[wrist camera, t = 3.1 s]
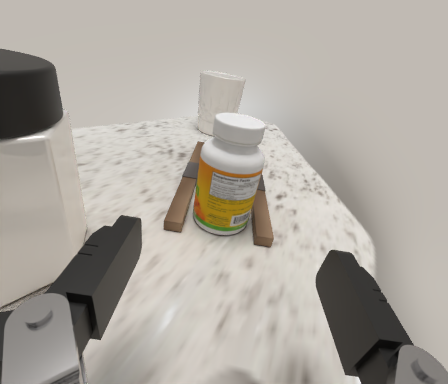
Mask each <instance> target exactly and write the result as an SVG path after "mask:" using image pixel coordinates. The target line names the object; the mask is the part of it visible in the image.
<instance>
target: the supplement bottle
mask: <svg viewBox="0 0 448 384" xmlns="http://www.w3.org/2000/svg"><path fill="white" fill-rule="evenodd" d="M264 130H265V124H264V123H263V122H262V121H260V120H259V119H256V118H254V117H251V116H247V115H243V114H237V113H219V114H217V115H216V116H215V119H214V125H213V132H212V133H213V135H214V136H215V138H212V139H209V140H208V141H206V142H205V143H204V145H203V146H202V149H201V154H200V162H199V170H198V177H197V185H196V193H195V201H194V209H193V216H194V219H195V221H196V223H197V224H198V225H199V226H200V227H201V228H203V229H204V230H206V231H208V232H211V233H214V234H218V235H231V234H235V233H238V232H240V231H241V230H243V229H244V228H245V226H246V225H247V222H248V219H249V216H250V212H251V209H252V205H253V202H254V198H255V195H256V191H257V188H258V184H259V181H260V177H261V174H262V170H263V166H264V161H265V157H264V154H263V152H262V150H261V149H260V148H259V147H258V146H257V145H259V144H260V143H261V141H262V139H263V135H264Z"/></svg>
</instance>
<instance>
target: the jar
mask: <svg viewBox="0 0 448 384" xmlns="http://www.w3.org/2000/svg"><path fill="white" fill-rule="evenodd" d="M86 230H87V221H86V215H85V209H84V203H83V197H82V191H81V185H80V179H79V173H78V166H77V160H76V154H75V148H74V142H73V136H72V130H71V124H70V118H69V113H68V111H67V110H65V109H63V108H62V103H61V97H60V91H59V86H58V80H57V75H56V69H55V66H54V65H53V64H52V63H50V62H49V61H47V60H45V59H42V58H39V57H36V56H32V55H29V54H24V53H20V52H15V51H10V50H5V49H0V307H3V306H5V305H7V304H9V303H11V302H13V301H15V300H17V299H19V298H21V297H23V296H25V295H28V294H30V293H32V292H34V291H36V290H38V289H40V288H42V287H44V286H46V285H48V284H51V283H53V282H55V280H56V279H57V278H58V277H59V275H60V274H61V273H62V272H63V270H64V269H65V268H66V266H67V265H68V264H69V263H70V261H71V260H72V259H73V258H74V256H75V255H77V254H78V251H79V250H80V249H81V248H82V246H83V243H84V239H85V234H86Z"/></svg>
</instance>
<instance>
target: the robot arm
mask: <svg viewBox="0 0 448 384" xmlns="http://www.w3.org/2000/svg"><path fill="white" fill-rule="evenodd" d="M141 248H142V231H141V219H140V218H136V217H130V216H124V215H121V216H120V217H119V218H118V219H117V221H116V222H115V223H114V225H113V226H112V227H110V226H103V227H102V228H100V229H99V230H97V231H96V232H94V233H93V234H92V235H91V236H90V237H89V239H88V240H87V241H86V242H85V244H84V246H82V248H81V249H80V250H79V251H78V254H77V255H75V256H74V258H73V259H72V260H71V261H70V263H69V264H68V265H67V266H66V268H65V269H64V270H63V272H62V273H61V274H60V275H59V277H58V278H57V279H56V280H55V282H54V283H53V284H52V285H51V287H50V288H49V289H48V290H47V291H46V292H45V293H44V294H42V295H38V296H35V297H33V298H31V299H29V300H27V301H25V302H24V303H22V304H21V305H20V306H18V307H17V308H16V309H15V310H11V311H6V312H0V384H88V380H87V374H86V369H85V363H84V357H83V351H84V349H85V347H86V345H87V343H88V341H89V339H97V340H101V338H102V336H103V334H104V332H105V330H106V327H107V325H108V323H109V321H110V319H111V317H112V315H113V313H114V310H115V308H116V306H117V304H118V302H119V300H120V298H121V296H122V294H123V291H124V289H125V287H126V285H127V283H128V281H129V279H130V277H131V275H132V272H133V270H134V268H135V266H136V264H137V262H138V260H139V257H140V253H141ZM316 288H317V291H318V294H319V297H320V300H321V303H322V306H323V309H324V312H325V315H326V318H327V321H328V324H329V327H330V330H331V333H332V336H333V339H334V342H335V345H336V348H337V351H338V354H339V357H340V360H341V363H342V366H343V369H344V372H345V375H349V376H357V377H359V379H360V381H361V384H448V372H447V371H446V370H445V368H444V367H443V366H442V365H441V364H440V363H439V362H438V361H437V360H436V359H435V358H434V357H433V356H432V355H430V354H429V353H428V352H426V351H425V350H423V349H421V348H419V347H416V346H414V345H413V343H412V341H411V340H410V338H409V336H408V335H407V333H406V331H405V330H404V328H403V326H402V325H401V323H400V321H399V320H398V318H397V316H396V315H395V313H394V311H393V310H392V308H391V306H390V305H389V303H387V300H386V298H385V296H384V295H383V293H381V290H380V288H379V286H378V285H377V283H376V281H375V280H374V278H373V277H372V276H371V275H370V274H369V273H368V272H367V271H366V270H365V269H364V268H363V267H360V266H359V264H358V262H357V261H356V259H355V257H354V255H353V254H352V253H350V252H343V251H337V250H331V251H329V253H328V255H327V256H326V258H325V260H324V262H323V264H322V265H321V267H320V269H319V271H318V273H317V275H316Z"/></svg>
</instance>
